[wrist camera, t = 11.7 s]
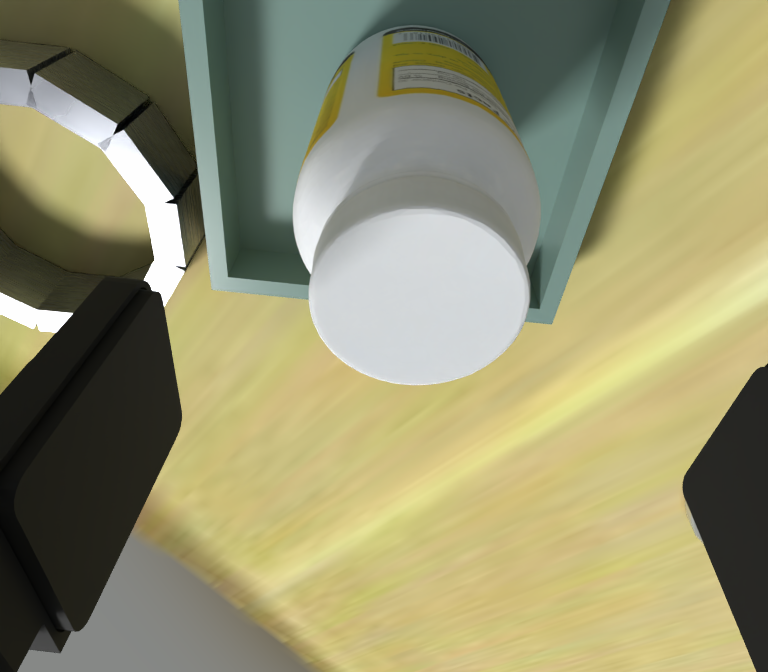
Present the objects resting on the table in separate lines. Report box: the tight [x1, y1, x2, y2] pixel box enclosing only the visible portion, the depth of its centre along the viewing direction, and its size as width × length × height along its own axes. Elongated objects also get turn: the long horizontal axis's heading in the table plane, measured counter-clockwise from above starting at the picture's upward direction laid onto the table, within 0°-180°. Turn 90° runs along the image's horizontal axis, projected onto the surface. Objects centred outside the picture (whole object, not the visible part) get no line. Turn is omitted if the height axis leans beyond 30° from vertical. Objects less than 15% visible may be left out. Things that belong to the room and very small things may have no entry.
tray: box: [178, 0, 671, 324], centre depth 17 cm, size 12×12×2 cm
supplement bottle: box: [293, 25, 541, 385], centre depth 14 cm, size 5×5×10 cm
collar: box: [0, 40, 205, 332], centre depth 19 cm, size 9×9×2 cm
